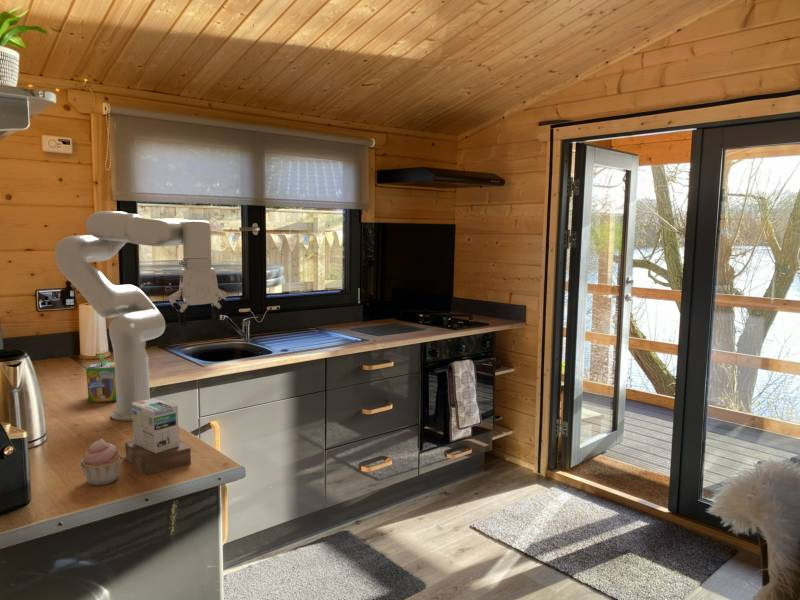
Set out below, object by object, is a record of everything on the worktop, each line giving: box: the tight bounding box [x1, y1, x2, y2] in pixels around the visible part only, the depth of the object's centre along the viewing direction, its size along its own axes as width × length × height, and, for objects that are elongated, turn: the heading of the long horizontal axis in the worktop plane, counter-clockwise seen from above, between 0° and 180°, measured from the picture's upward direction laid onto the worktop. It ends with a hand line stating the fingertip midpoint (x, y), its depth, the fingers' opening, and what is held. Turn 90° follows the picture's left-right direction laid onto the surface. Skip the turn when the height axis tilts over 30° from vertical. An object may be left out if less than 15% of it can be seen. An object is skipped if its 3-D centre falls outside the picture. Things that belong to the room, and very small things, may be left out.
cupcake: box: [78, 438, 125, 487], centre depth 146 cm, size 9×9×10 cm
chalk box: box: [85, 353, 116, 404], centre depth 208 cm, size 9×9×15 cm
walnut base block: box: [124, 440, 192, 476], centre depth 158 cm, size 14×11×4 cm
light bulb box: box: [132, 397, 180, 454], centre depth 157 cm, size 11×7×11 cm, turn 51°
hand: (199, 323), depth 181 cm, fingers open, 9 cm apart
